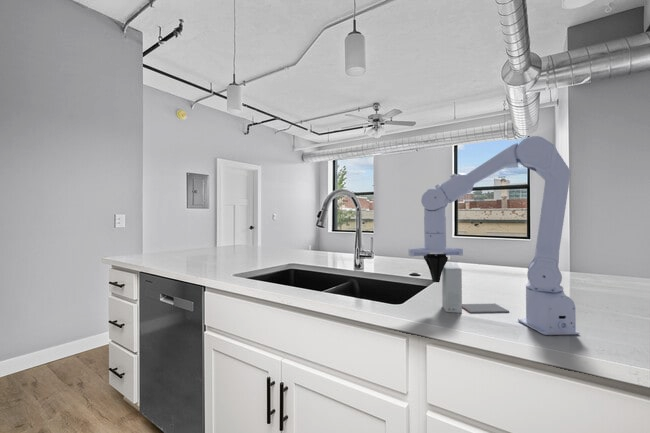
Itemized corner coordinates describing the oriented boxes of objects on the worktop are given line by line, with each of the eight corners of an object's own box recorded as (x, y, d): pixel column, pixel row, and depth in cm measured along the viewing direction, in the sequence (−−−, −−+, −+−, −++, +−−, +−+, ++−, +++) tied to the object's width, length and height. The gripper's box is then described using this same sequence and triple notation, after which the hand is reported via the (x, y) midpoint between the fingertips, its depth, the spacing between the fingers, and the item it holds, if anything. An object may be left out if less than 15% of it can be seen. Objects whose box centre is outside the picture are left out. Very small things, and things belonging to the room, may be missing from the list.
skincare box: (462, 313, 84) (462, 268, 83) (445, 312, 84) (445, 268, 84) (457, 306, 89) (457, 265, 89) (442, 306, 90) (441, 264, 90)
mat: (509, 312, 83) (509, 311, 83) (470, 313, 83) (470, 311, 83) (494, 304, 90) (494, 303, 90) (458, 305, 90) (458, 304, 90)
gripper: (454, 231, 91) (455, 278, 91) (405, 232, 91) (406, 279, 91) (466, 233, 84) (466, 283, 84) (412, 234, 84) (413, 284, 84)
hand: (435, 281), depth 87 cm, fingers closed
